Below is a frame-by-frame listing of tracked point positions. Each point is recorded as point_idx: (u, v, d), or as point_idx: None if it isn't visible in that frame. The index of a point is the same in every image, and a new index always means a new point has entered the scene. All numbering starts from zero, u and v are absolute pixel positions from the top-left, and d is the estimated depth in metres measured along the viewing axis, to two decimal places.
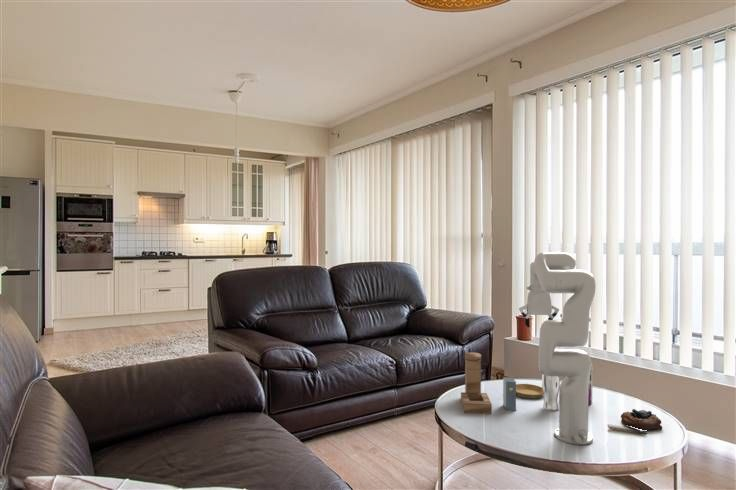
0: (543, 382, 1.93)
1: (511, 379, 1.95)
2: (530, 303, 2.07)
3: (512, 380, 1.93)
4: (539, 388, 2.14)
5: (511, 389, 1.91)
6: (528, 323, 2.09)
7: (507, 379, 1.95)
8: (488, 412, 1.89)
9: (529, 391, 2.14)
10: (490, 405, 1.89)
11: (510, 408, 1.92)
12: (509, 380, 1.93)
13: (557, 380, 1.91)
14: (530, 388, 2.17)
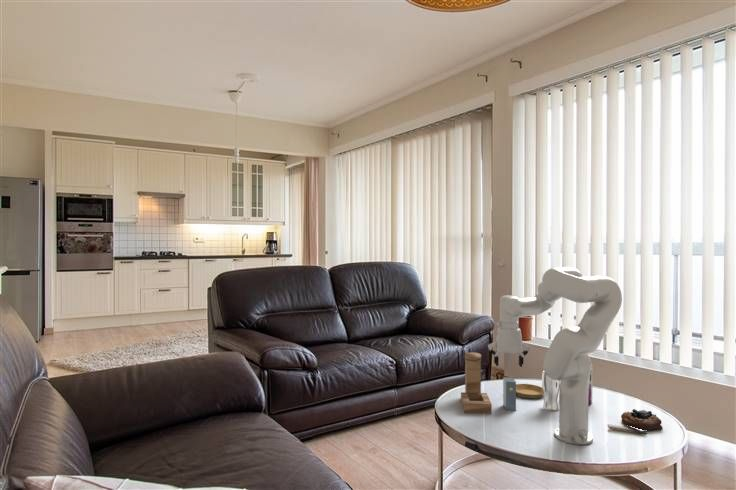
0: (543, 382, 1.93)
1: (511, 379, 1.95)
2: (499, 340, 1.92)
3: (512, 380, 1.93)
4: (539, 388, 2.14)
5: (511, 389, 1.91)
6: (497, 362, 1.94)
7: (507, 379, 1.95)
8: (488, 412, 1.89)
9: (529, 391, 2.14)
10: (490, 405, 1.89)
11: (510, 408, 1.92)
12: (509, 380, 1.93)
13: (557, 380, 1.91)
14: (530, 388, 2.17)
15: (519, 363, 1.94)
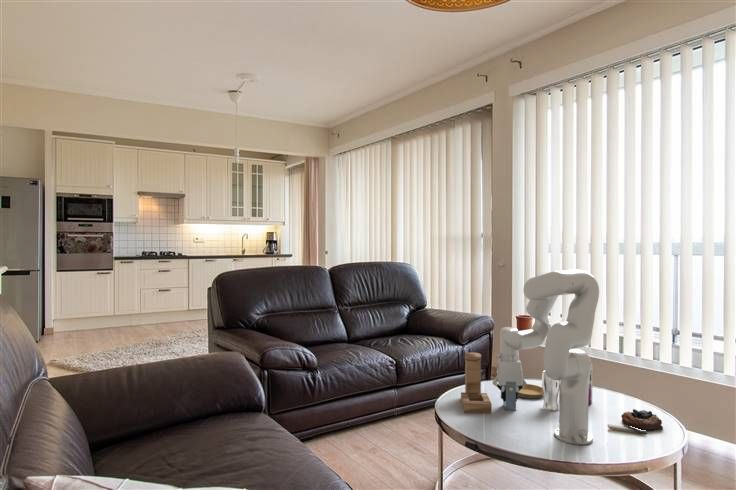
0: (543, 382, 1.93)
1: None
2: (500, 373, 1.92)
3: None
4: (539, 388, 2.14)
5: (511, 389, 1.91)
6: (504, 397, 1.93)
7: None
8: (488, 412, 1.89)
9: (529, 391, 2.14)
10: (490, 405, 1.89)
11: (510, 408, 1.92)
12: None
13: (557, 380, 1.91)
14: (530, 388, 2.17)
15: None
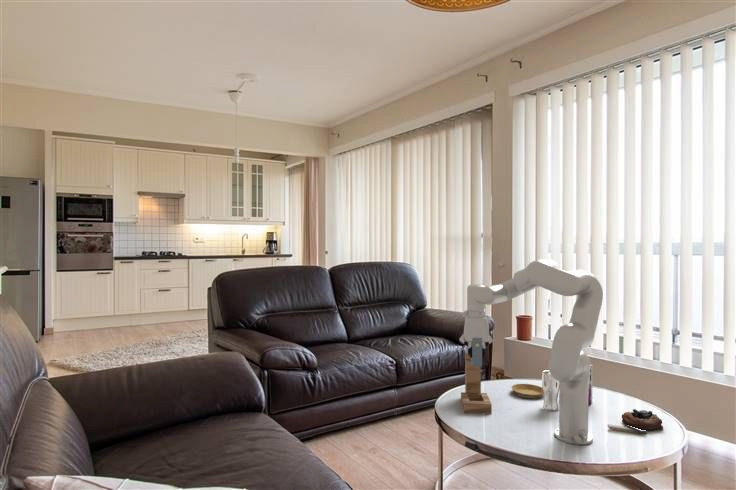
0: (543, 382, 1.93)
1: None
2: (466, 329, 1.93)
3: None
4: (539, 388, 2.14)
5: (477, 345, 1.92)
6: (470, 353, 1.94)
7: None
8: (488, 412, 1.89)
9: (529, 391, 2.14)
10: (490, 405, 1.89)
11: (476, 364, 1.93)
12: None
13: (557, 380, 1.91)
14: (530, 388, 2.17)
15: None
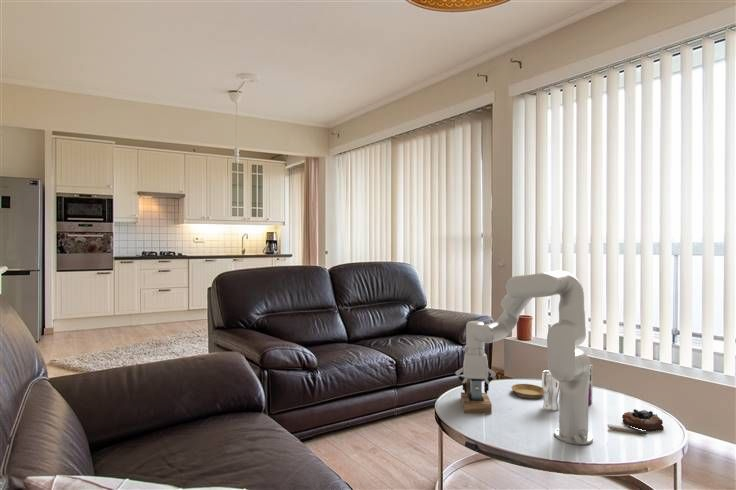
0: (543, 382, 1.93)
1: None
2: (465, 366, 1.94)
3: (478, 379, 1.95)
4: (539, 388, 2.14)
5: (477, 388, 1.92)
6: (465, 388, 1.95)
7: None
8: (488, 412, 1.89)
9: (529, 391, 2.14)
10: (490, 405, 1.89)
11: None
12: (475, 379, 1.95)
13: (557, 380, 1.91)
14: (530, 388, 2.17)
15: (484, 389, 1.95)
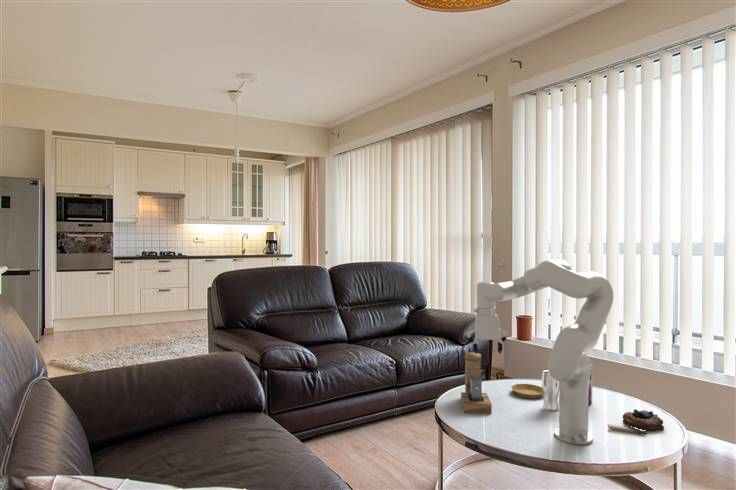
0: (543, 382, 1.93)
1: (477, 378, 1.96)
2: (477, 327, 1.91)
3: (478, 379, 1.95)
4: (539, 388, 2.14)
5: (477, 388, 1.92)
6: (476, 349, 1.92)
7: (473, 378, 1.96)
8: (488, 412, 1.89)
9: (529, 391, 2.14)
10: (490, 405, 1.89)
11: None
12: (475, 379, 1.95)
13: None
14: (530, 388, 2.17)
15: (498, 350, 1.93)
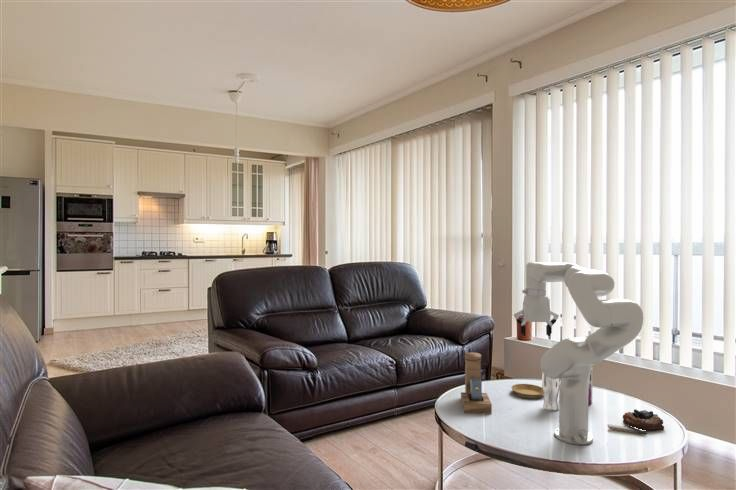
0: (543, 382, 1.93)
1: (477, 378, 1.96)
2: (526, 308, 1.84)
3: (478, 379, 1.95)
4: (539, 388, 2.14)
5: (477, 388, 1.92)
6: (524, 331, 1.85)
7: (473, 378, 1.96)
8: (488, 412, 1.89)
9: (529, 391, 2.14)
10: (490, 405, 1.89)
11: None
12: (475, 379, 1.95)
13: (557, 380, 1.91)
14: (530, 388, 2.17)
15: (547, 332, 1.86)
